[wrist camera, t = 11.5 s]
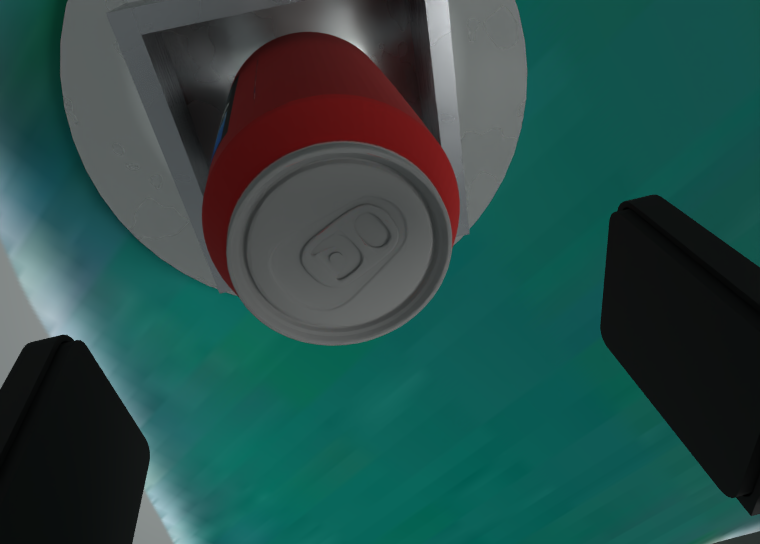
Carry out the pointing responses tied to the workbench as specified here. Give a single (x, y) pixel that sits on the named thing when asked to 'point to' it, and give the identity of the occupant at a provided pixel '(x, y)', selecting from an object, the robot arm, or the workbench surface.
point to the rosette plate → (217, 72)
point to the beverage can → (327, 194)
